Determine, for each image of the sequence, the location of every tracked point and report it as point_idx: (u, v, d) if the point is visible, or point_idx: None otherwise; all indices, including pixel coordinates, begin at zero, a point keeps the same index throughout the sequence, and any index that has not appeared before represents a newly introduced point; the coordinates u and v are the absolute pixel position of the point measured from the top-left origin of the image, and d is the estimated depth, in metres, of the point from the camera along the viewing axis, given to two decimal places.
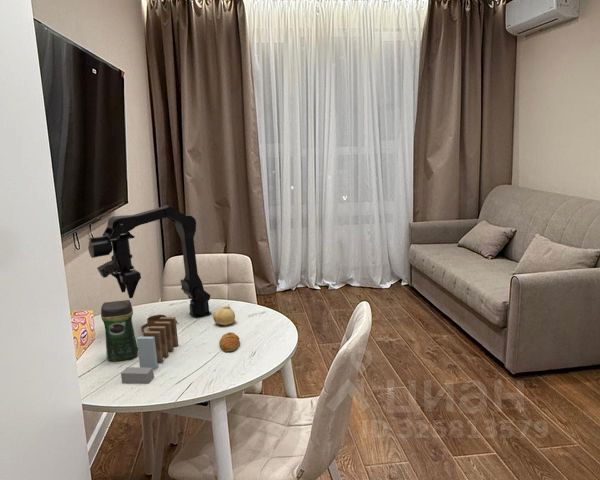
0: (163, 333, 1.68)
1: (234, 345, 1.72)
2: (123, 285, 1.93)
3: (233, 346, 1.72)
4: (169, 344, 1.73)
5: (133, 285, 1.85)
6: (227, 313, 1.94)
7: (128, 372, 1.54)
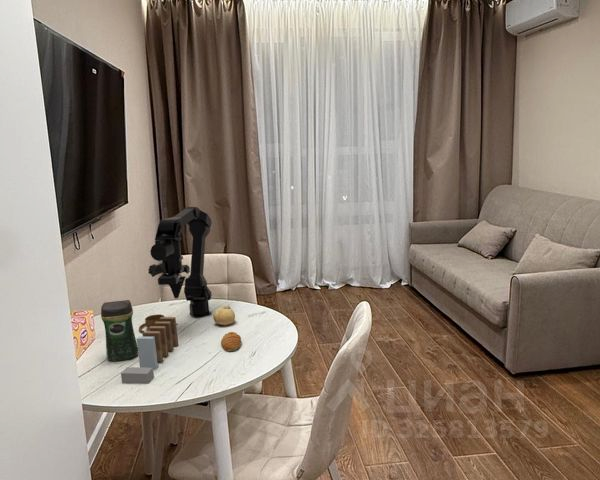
0: (163, 333, 1.68)
1: (236, 344, 1.73)
2: None
3: (235, 345, 1.72)
4: (169, 344, 1.73)
5: (176, 286, 1.86)
6: (227, 313, 1.94)
7: (128, 372, 1.54)
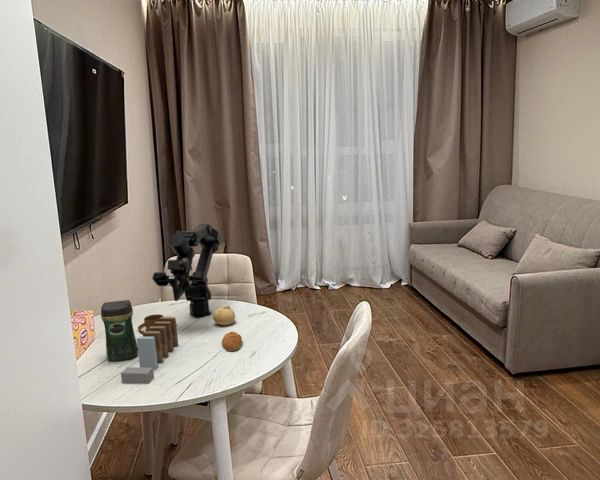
0: (163, 333, 1.68)
1: (237, 344, 1.73)
2: None
3: (236, 345, 1.72)
4: (169, 344, 1.73)
5: (183, 290, 1.88)
6: (227, 313, 1.94)
7: (128, 372, 1.54)
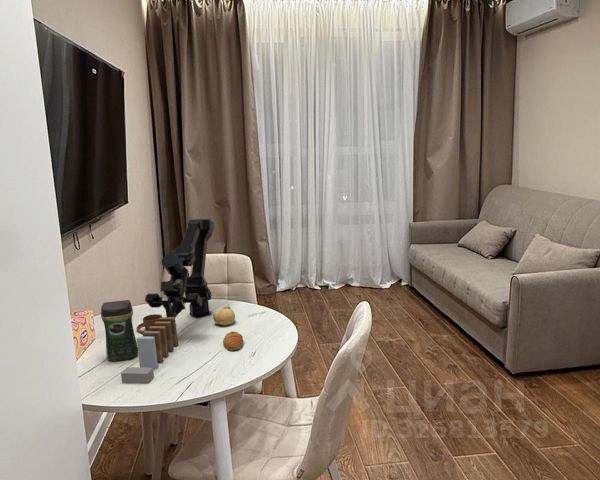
0: (163, 333, 1.68)
1: (239, 344, 1.73)
2: (170, 316, 1.80)
3: (238, 345, 1.72)
4: (169, 344, 1.73)
5: (176, 312, 1.81)
6: (227, 313, 1.94)
7: (128, 372, 1.54)
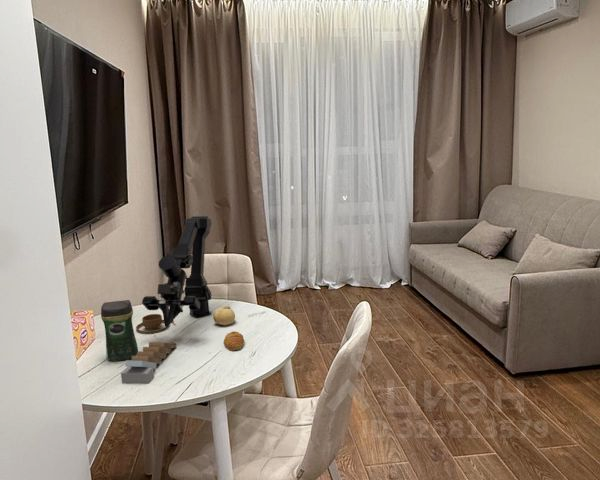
0: None
1: (240, 344, 1.73)
2: None
3: (239, 345, 1.73)
4: None
5: (174, 315, 1.79)
6: (227, 313, 1.94)
7: (128, 372, 1.54)
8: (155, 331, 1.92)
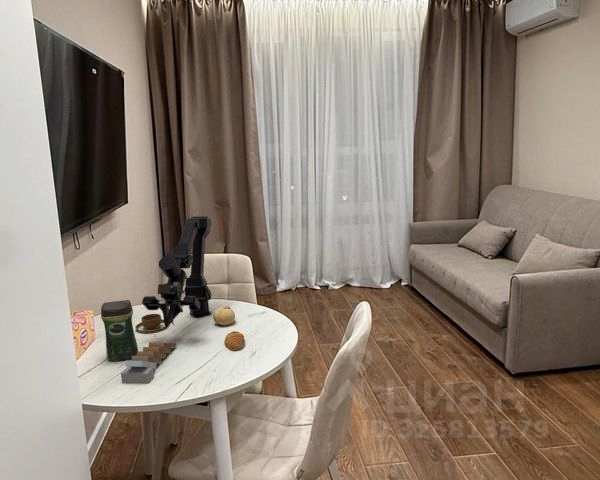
0: None
1: (241, 343, 1.73)
2: None
3: (240, 344, 1.73)
4: None
5: (174, 315, 1.79)
6: (227, 313, 1.94)
7: (128, 372, 1.54)
8: (154, 331, 1.92)
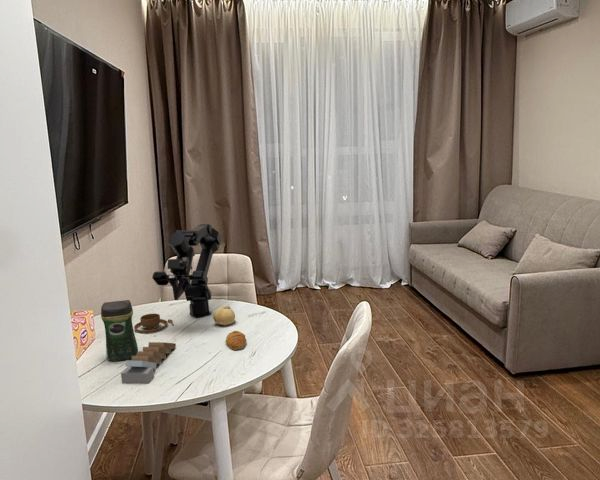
0: None
1: (242, 343, 1.74)
2: None
3: (242, 344, 1.73)
4: None
5: (183, 289, 1.88)
6: (227, 313, 1.94)
7: (128, 372, 1.54)
8: (152, 331, 1.92)
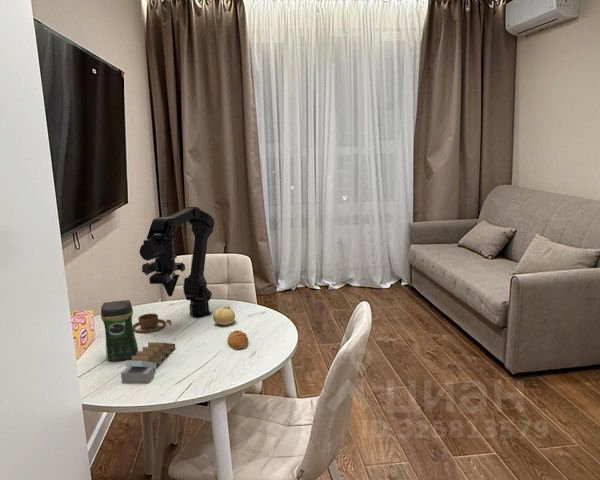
0: None
1: (245, 342, 1.74)
2: None
3: (244, 343, 1.74)
4: (165, 353, 1.70)
5: (169, 285, 1.88)
6: (227, 313, 1.94)
7: (128, 372, 1.54)
8: (149, 331, 1.92)
